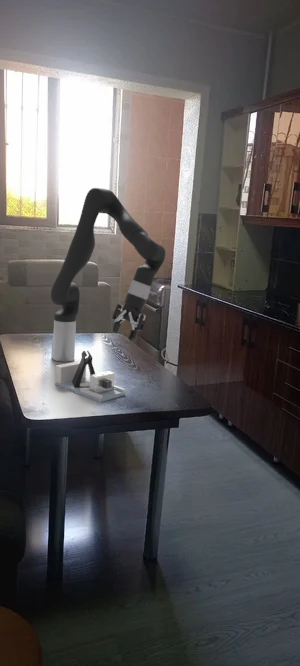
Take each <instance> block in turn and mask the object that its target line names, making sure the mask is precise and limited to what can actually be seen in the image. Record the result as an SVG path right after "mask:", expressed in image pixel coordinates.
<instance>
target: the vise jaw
mask: <svg viewBox="0 0 300 666" xmlns="http://www.w3.org/2000/svg"><path fill="white" fill-rule="evenodd" d="M115 376H116V375H115V372H113V371H110V370H107V371H101V372H98V373H95V374H93V375H90V374H89V379H90V385H89V390H90V391H92V392H95V393H97V394H98V393H102V392H105V391H109V390H113V389H114V385H115Z"/></svg>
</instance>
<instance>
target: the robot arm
mask: <svg viewBox="0 0 300 666" xmlns="http://www.w3.org/2000/svg"><path fill="white" fill-rule="evenodd" d="M99 214H106V215H108V216H110V218H112V219H113V220H114V221H115V222H116V224H117V226H118V229H119V231H120V233H121V234H122V236H123V237H124V238H125V239H126V241H128V242H129V244H131V245H132V246H133V247H134V249H135V250H136V252H137V253H138V254H139V255H140V257H141V258H143V260H145V261H144V263H143V265H140V266H138V267H137V268H136V271H135V273H134V277H133V280H132V281H131V283H130V284H129V285H130V286H129V289H128V291H127V292H126V293H127V294H126V297H125V299H124V301H123V303H124V305H123V304H119V303H117V305H116V307H115V308H114V312H113V314H112V316H111V318H112V319H113V320H114V324H113V327H112V332H113V333H115V334H117V333H118V332H119V330H120V327H121V325H122V324H121V323H122V322H124V321H127V322H130V325H131V330H130V331H129V332H130V333H129V335H128V340H129V341H134V340H135V338H136V337H137V334H138V332H143V331H144V327H145V324H146V323H147V317H148V316H147V315H146V314H143V313H142V312H143V310H145V309H144V308H145V307H146V303H147V300H148V298H149V295H150V292H151V288H152V284H153V282H154V279H155V276H156V274H158V271H159V270H160V268H161V267H162V265H163V263H164V262H165V259H166V249H165V247H163V245H161V244H159V243H157V242H155V241H154V240H153V239H152V238H151V237H150V236H149V234H148V232H147V231H146V230H145V229H144V228H143V227H142V226H141V225H140V224H139V223H138V222H137V221H136V220H135V219H134V218H133V217H132V216H131V214H130V213H129V212H128V210H127V209H126V208H125V206H124V205H123V204H122V202H121V201H120V199H119V198H118V197H117V195H116V194H115V192H113V191H112V190H111V189H106V188H102V187H101V188H100V187H92V188H91V189H89V190H88V192H87V193H86V196H85V199H84V202H83V205H82V210H81V214H80V217H79V220H78V224H77V225H76V229H75V232H74V235H73V237H72V239H71V242H70V245H69V248H68V250H67V253H66V256H65V258H64V260H63V264H62V266H61V268H60V271H59V273H58V275H57V277H56V278H55V281H54V282H53V284H52V288H51V291H50V298H51V299H50V300H51V301H52V303H53V304H55V305H57V306H58V305H59V306H61V307H60V309H58V310H57V311H56V312H55V313H54V315H53V336H52V337H51V359H52V360H53V361H56V362H62V363H64V362H65V363H66V362H67V363H70V362H74V361H75V351H76V332H77V331H76V329H77V328H76V327H77V326H76V325H77V316H78V314H79V306H80V299H81V297H80V289H79V285H77V284H76V283H75V282H73V281H74V279H75V277H76V276H77V275H78V274H79V273H80V272H81V270H83V268H85V266H86V265H87V264H88V263H89V261H90V259H91V257H92V254H93V251H94V249H95V246H96V239H95V231H94V230H95V228H94V227H95V224H96V221H97V218H98V216H99Z"/></svg>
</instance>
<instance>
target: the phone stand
mask: <svg viewBox="0 0 300 666" xmlns="http://www.w3.org/2000/svg"><path fill="white" fill-rule="evenodd" d="M79 361H80V364H79V366H78V369H77V371H76V373H75V376H74V378H73V380H72V383H73V385H74V387H75V388H86V387H87V388H88V387H89V385H90V381H81V379H82V376H83V373H84V370H85V367H86V368H87V365H88V370H89V376H90V375H93V374H96V371H95V368H94V365H93V356H92V354H91V353H90V352H89V350H87V351H85V350H83V351H82V352H81V358H80V360H79Z"/></svg>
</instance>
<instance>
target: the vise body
mask: <svg viewBox="0 0 300 666" xmlns="http://www.w3.org/2000/svg"><path fill="white" fill-rule="evenodd" d="M80 361H81V360H77V361H71V362H67V363H62V364H58V365H55V374H54V375H55V378H54V381H55V384H54V385H55V386H58V387H60V388H62V387H63V389H65V388H66V389H65V390H67V389H68V391H70V390H71V392H73V391H74V392H73V393H75V392H77V393H76V394H78V393H79V394H78V395H80V394H81V395H80V396H83V397H85V398H88V399H91V400H93V401H96V402H99V403H102V402H106V401H108V400H112V399H116V398H119V397H122V396H125V394H126V389H125V388H123V387H120V386H117V385H115V384H114V389H113V390H109V391H105V392H102V393H98V394H97V393H95V392H92V391H90V390H89V387H88V388H87V387H86V388H75V387H74V385H73V383H72V380H73V378H74V376H75V373H76V371H77V369H78V366H79V364H80ZM86 374H87V366H86V367H85V370H84V373H83V376H82V379H81V381H90V378H88V377H87V378H86V376H87V375H86Z"/></svg>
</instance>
